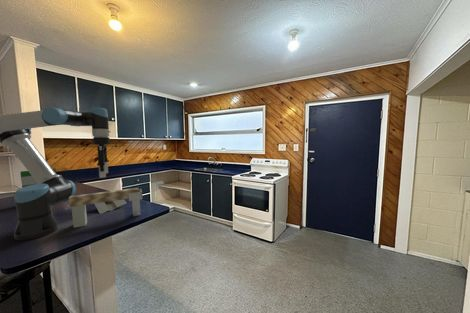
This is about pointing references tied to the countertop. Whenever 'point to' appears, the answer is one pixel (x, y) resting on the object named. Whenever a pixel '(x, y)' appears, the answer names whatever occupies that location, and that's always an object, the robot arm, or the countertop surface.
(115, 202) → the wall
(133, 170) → the countertop surface
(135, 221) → the countertop surface
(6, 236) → the countertop surface
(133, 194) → the cup bracket
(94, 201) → the rail
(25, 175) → the hardback book
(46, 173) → the robot arm
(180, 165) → the countertop surface
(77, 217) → the post
